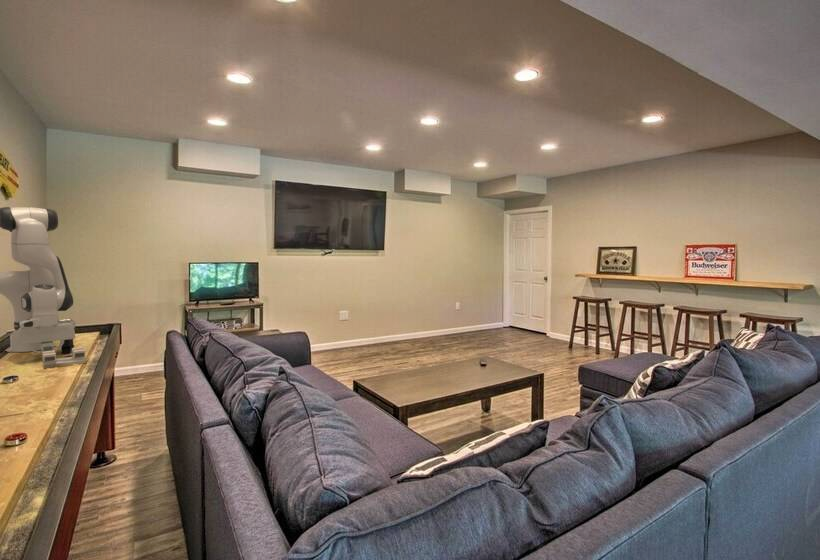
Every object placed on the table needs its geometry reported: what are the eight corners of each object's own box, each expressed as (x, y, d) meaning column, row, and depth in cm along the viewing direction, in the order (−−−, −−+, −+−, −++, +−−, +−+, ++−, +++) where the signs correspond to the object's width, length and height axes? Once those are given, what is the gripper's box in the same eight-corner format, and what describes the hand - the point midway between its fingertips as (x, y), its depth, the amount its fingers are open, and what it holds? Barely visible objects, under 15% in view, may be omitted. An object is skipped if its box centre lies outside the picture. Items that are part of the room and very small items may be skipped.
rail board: (42, 363, 187) (42, 351, 186) (83, 358, 196) (82, 346, 196) (44, 369, 178) (43, 356, 177) (86, 363, 187) (85, 351, 187)
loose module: (41, 359, 194) (41, 341, 193) (53, 357, 197) (52, 340, 196) (42, 362, 189) (41, 344, 189) (54, 360, 192) (53, 342, 191)
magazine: (59, 352, 199) (60, 321, 204) (64, 359, 210) (65, 329, 215) (69, 351, 201) (70, 321, 206) (74, 358, 212) (74, 329, 216)
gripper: (74, 317, 201) (76, 347, 202) (15, 322, 187) (17, 353, 188) (75, 319, 196) (77, 349, 197) (15, 324, 183) (17, 356, 184)
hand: (47, 351), depth 193 cm, fingers open, 7 cm apart
